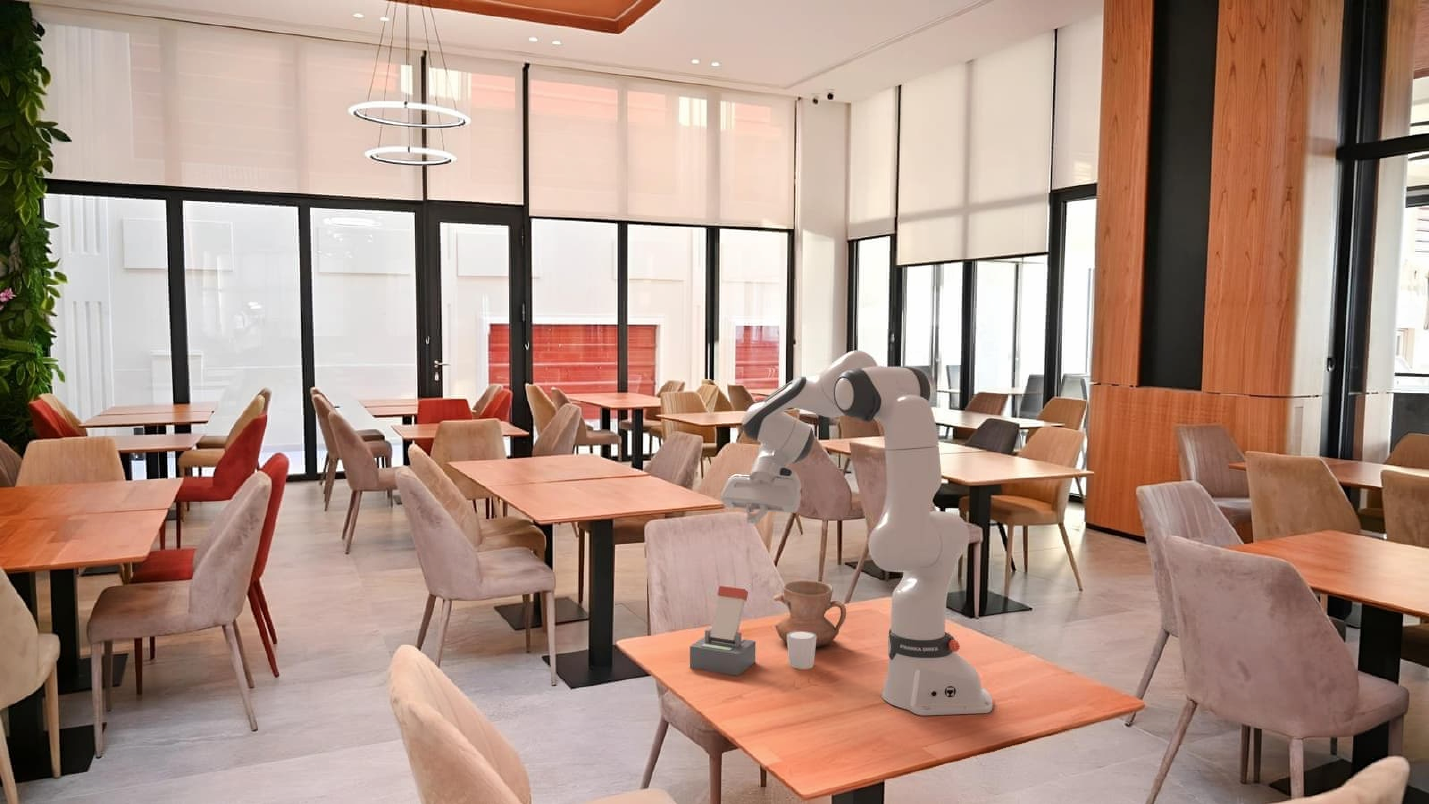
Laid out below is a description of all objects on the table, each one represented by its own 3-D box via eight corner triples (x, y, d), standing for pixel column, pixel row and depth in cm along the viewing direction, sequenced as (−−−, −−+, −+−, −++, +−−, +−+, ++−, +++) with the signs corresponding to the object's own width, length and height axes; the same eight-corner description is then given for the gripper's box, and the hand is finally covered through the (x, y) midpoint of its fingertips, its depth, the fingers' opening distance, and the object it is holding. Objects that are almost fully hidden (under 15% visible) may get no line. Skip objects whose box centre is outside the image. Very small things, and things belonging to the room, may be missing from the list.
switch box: (708, 654, 228) (708, 622, 228) (755, 662, 223) (755, 629, 223) (689, 667, 219) (690, 634, 219) (738, 675, 214) (738, 641, 214)
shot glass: (816, 660, 225) (816, 631, 224) (816, 670, 218) (816, 640, 217) (786, 659, 225) (787, 630, 225) (786, 669, 219) (786, 639, 218)
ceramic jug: (766, 648, 233) (767, 591, 232) (779, 629, 247) (780, 575, 246) (840, 657, 228) (842, 598, 227) (849, 637, 242) (851, 582, 241)
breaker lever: (711, 641, 223) (723, 589, 228) (737, 645, 220) (748, 592, 225) (707, 639, 221) (719, 585, 226) (733, 643, 218) (744, 589, 223)
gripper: (726, 466, 246) (710, 510, 237) (802, 472, 237) (787, 518, 229) (733, 481, 250) (717, 525, 242) (807, 487, 241) (793, 533, 233)
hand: (752, 522), depth 235 cm, fingers closed
